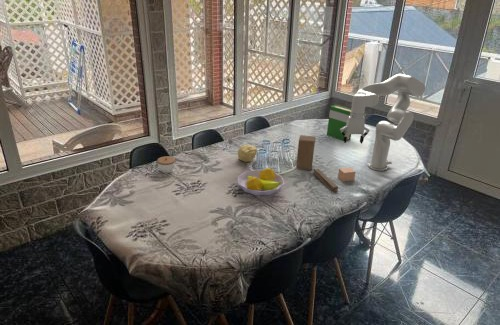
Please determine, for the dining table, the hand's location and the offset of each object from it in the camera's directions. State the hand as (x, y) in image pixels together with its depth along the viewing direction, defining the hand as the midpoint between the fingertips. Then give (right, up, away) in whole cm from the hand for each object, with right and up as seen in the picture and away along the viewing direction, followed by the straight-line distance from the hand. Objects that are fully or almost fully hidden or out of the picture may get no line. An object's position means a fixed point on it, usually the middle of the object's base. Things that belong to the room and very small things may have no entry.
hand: (352, 142), depth 219 cm
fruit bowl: (-56, -28, -11) cm, 63 cm away
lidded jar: (-113, -17, +6) cm, 115 cm away
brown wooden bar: (-17, -24, +1) cm, 29 cm away
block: (-3, -22, +6) cm, 23 cm away
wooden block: (-26, -15, +20) cm, 36 cm away
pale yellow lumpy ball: (-64, -10, +26) cm, 70 cm away
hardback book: (+9, +8, +73) cm, 74 cm away
